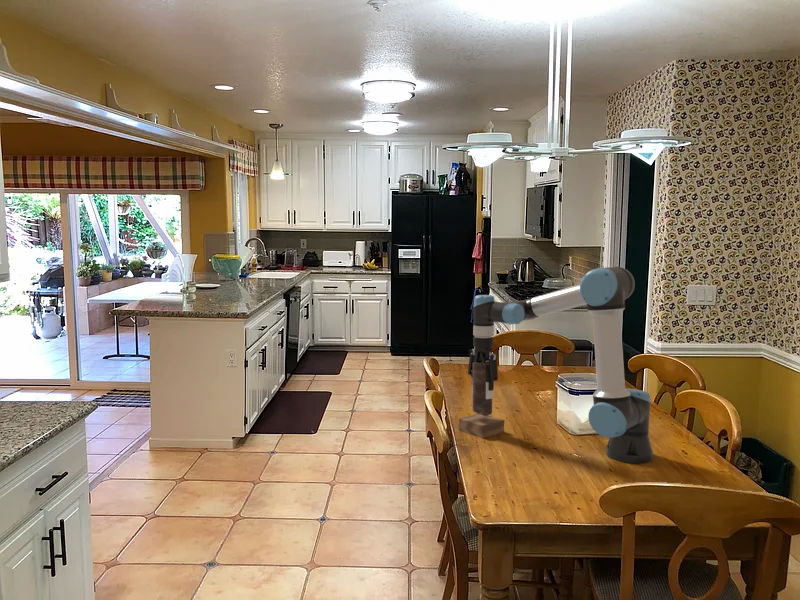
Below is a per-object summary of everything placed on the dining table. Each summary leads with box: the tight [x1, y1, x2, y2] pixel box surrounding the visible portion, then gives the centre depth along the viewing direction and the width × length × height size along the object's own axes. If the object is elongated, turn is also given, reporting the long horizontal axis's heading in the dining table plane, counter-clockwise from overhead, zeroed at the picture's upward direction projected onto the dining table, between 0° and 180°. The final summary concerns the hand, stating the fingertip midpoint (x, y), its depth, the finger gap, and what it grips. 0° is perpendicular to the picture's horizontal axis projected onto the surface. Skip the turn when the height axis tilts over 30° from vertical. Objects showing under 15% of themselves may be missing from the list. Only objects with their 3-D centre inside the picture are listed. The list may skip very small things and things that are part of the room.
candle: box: [472, 362, 493, 416], centre depth 245 cm, size 8×7×20 cm
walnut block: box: [458, 413, 505, 439], centre depth 247 cm, size 12×12×5 cm
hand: (482, 396), depth 246 cm, fingers closed on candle, 7 cm apart
